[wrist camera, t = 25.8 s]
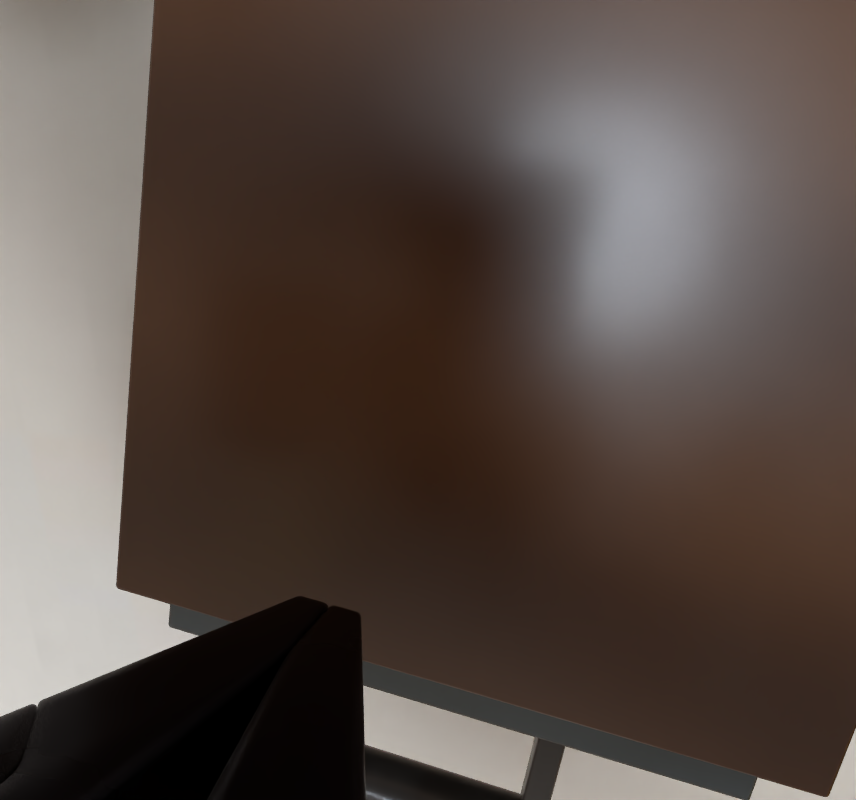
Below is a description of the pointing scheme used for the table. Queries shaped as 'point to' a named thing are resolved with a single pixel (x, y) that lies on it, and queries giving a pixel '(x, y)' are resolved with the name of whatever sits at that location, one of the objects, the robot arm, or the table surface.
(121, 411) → the table surface
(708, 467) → the cabinet
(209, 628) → the drawer
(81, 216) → the table surface
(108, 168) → the table surface
